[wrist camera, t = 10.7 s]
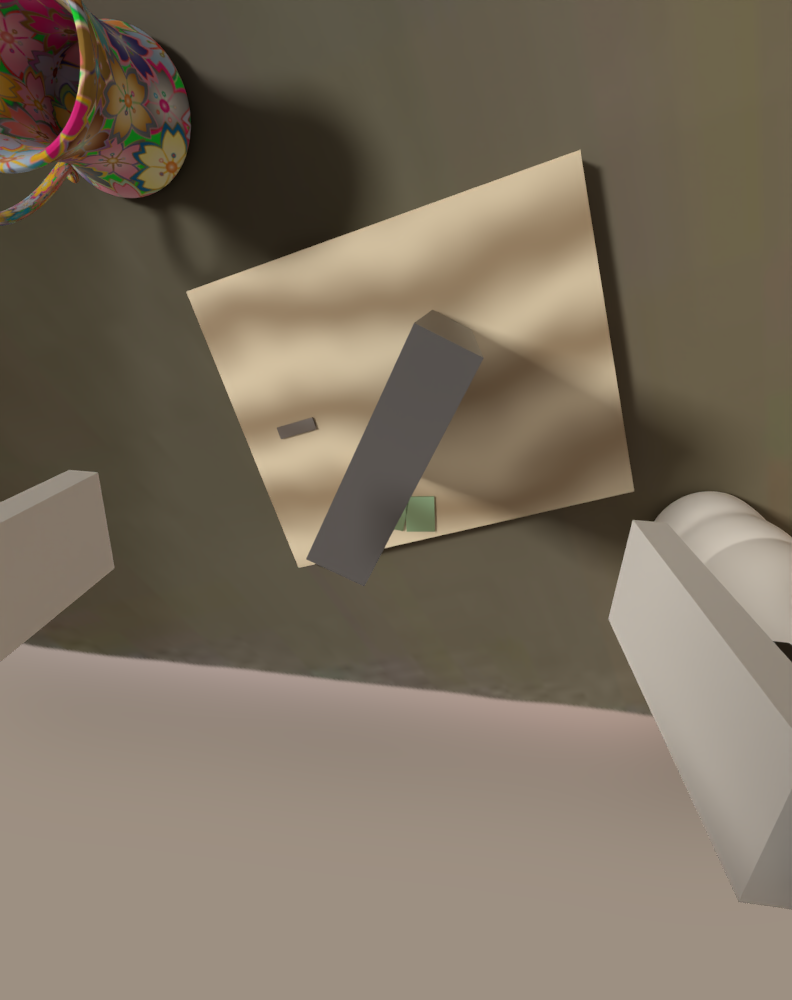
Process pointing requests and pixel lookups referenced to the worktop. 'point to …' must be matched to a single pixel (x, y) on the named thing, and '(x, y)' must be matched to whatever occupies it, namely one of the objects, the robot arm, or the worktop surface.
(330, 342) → the beige flat board
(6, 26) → the mug
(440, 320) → the gray square slab
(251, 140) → the worktop surface
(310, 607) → the worktop surface
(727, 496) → the water bottle
